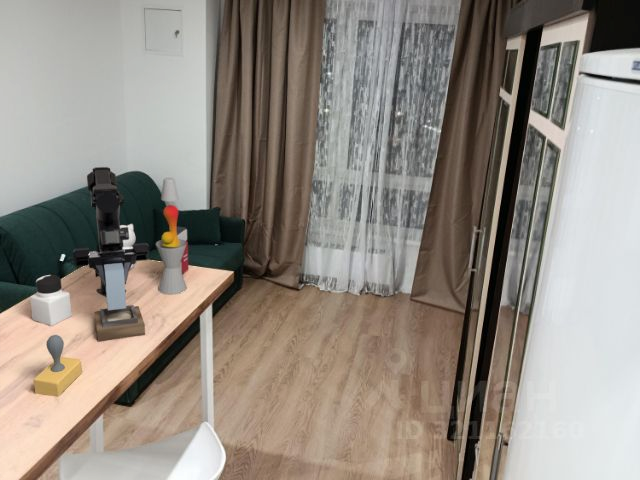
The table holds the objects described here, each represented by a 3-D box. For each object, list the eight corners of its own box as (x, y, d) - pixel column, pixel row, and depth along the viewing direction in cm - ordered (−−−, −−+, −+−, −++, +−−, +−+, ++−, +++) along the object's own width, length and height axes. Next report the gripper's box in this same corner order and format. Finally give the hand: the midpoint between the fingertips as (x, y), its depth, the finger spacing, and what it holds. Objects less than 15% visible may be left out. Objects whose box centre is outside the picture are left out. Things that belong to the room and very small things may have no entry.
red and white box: (175, 282, 189) (174, 238, 184) (163, 280, 190) (161, 236, 185) (189, 269, 199) (188, 227, 194) (177, 268, 200) (176, 225, 195)
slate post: (106, 302, 158) (103, 264, 154) (124, 300, 159) (122, 262, 156) (108, 310, 154) (105, 271, 150) (126, 308, 156) (123, 269, 152)
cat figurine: (142, 262, 203) (139, 220, 198) (130, 276, 192) (127, 232, 186) (115, 260, 203) (112, 219, 198) (102, 275, 191) (99, 231, 186)
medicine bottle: (72, 316, 164) (68, 276, 160) (51, 326, 158) (46, 285, 154) (53, 310, 167) (49, 270, 163) (32, 320, 161) (27, 279, 157)
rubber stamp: (59, 369, 139) (54, 324, 135) (83, 372, 139) (78, 326, 135) (34, 393, 130) (28, 345, 126) (59, 397, 129) (53, 348, 125)
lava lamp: (170, 280, 190) (166, 173, 178) (193, 286, 187) (191, 177, 175) (151, 290, 182) (146, 179, 171) (175, 297, 179) (171, 184, 167)
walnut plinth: (95, 321, 162) (93, 307, 161) (139, 315, 167) (138, 302, 165) (98, 341, 152) (97, 327, 151) (145, 334, 157) (144, 320, 155)
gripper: (69, 219, 149) (74, 277, 143) (147, 214, 156) (154, 269, 150) (72, 238, 158) (76, 293, 152) (144, 232, 165) (151, 285, 159)
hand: (115, 284), depth 153 cm, fingers closed on slate post, 4 cm apart
